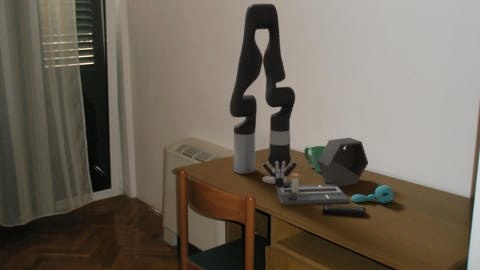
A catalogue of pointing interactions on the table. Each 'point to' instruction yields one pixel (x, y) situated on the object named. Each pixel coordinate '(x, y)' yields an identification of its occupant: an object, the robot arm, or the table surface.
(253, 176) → the table surface
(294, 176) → the fader tab
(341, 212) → the multiport hub
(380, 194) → the toy
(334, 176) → the planter
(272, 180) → the sitting furry creature
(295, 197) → the console board
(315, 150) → the mug
